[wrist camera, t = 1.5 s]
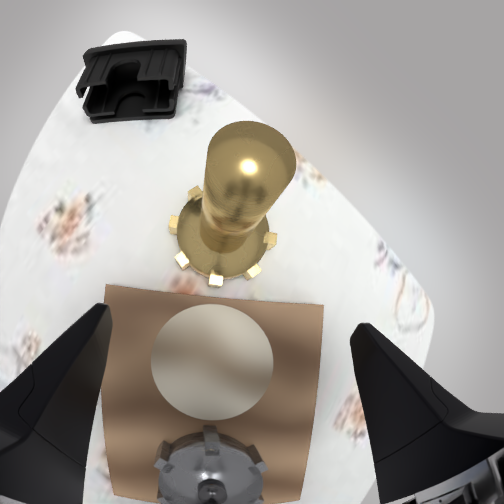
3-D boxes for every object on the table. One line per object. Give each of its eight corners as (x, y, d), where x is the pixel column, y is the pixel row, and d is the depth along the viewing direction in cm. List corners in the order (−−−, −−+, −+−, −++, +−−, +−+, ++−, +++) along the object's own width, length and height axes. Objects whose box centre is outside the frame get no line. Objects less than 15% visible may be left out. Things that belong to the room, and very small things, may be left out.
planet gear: (210, 308, 21) (233, 305, 9) (151, 225, 21) (114, 135, 9) (288, 248, 23) (376, 188, 11) (231, 174, 24) (266, 68, 12)
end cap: (185, 74, 25) (188, 29, 19) (179, 119, 24) (179, 70, 18) (102, 80, 23) (92, 38, 17) (86, 125, 22) (67, 81, 15)
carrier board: (294, 492, 19) (300, 501, 17) (117, 486, 15) (113, 496, 14) (315, 305, 23) (325, 304, 21) (111, 285, 20) (104, 283, 18)
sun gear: (253, 501, 16) (265, 528, 12) (161, 499, 15) (158, 527, 11) (261, 425, 18) (276, 448, 14) (156, 420, 17) (149, 444, 13)
